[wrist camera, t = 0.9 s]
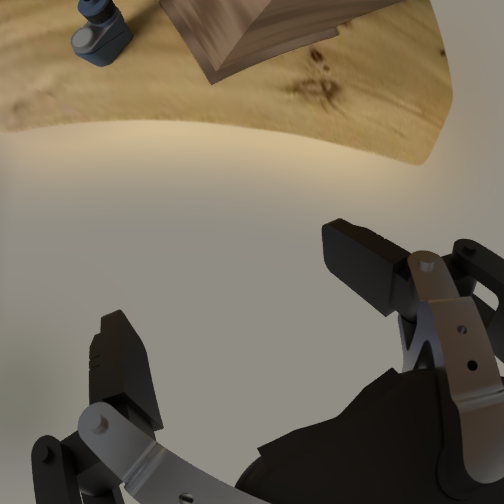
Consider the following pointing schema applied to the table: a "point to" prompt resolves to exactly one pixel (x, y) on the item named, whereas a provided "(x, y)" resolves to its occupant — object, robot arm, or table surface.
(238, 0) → the stand
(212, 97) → the table surface
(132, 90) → the table surface
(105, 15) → the vaping device
